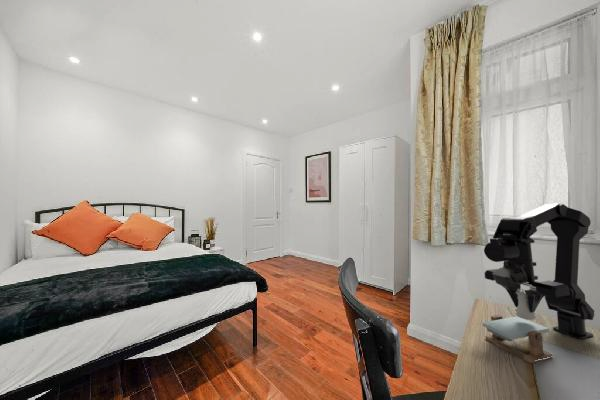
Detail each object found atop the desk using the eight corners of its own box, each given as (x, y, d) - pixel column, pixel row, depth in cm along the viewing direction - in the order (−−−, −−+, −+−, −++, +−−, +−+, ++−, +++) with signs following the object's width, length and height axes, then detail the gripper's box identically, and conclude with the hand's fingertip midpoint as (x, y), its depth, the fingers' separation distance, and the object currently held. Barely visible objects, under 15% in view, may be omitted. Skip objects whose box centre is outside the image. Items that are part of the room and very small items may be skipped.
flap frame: (504, 334, 74) (502, 312, 74) (553, 358, 62) (550, 332, 62) (484, 338, 72) (482, 316, 73) (531, 363, 60) (528, 336, 60)
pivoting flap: (517, 322, 73) (517, 316, 73) (549, 335, 65) (548, 328, 65) (482, 329, 70) (482, 322, 70) (511, 343, 62) (511, 336, 62)
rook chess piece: (540, 320, 66) (537, 293, 66) (522, 320, 67) (519, 292, 67) (528, 313, 70) (525, 287, 71) (511, 313, 71) (509, 287, 71)
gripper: (469, 255, 77) (473, 301, 76) (536, 268, 59) (543, 329, 58) (495, 252, 79) (499, 297, 78) (567, 263, 61) (574, 322, 60)
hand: (524, 309), depth 69 cm, fingers closed on rook chess piece, 3 cm apart
